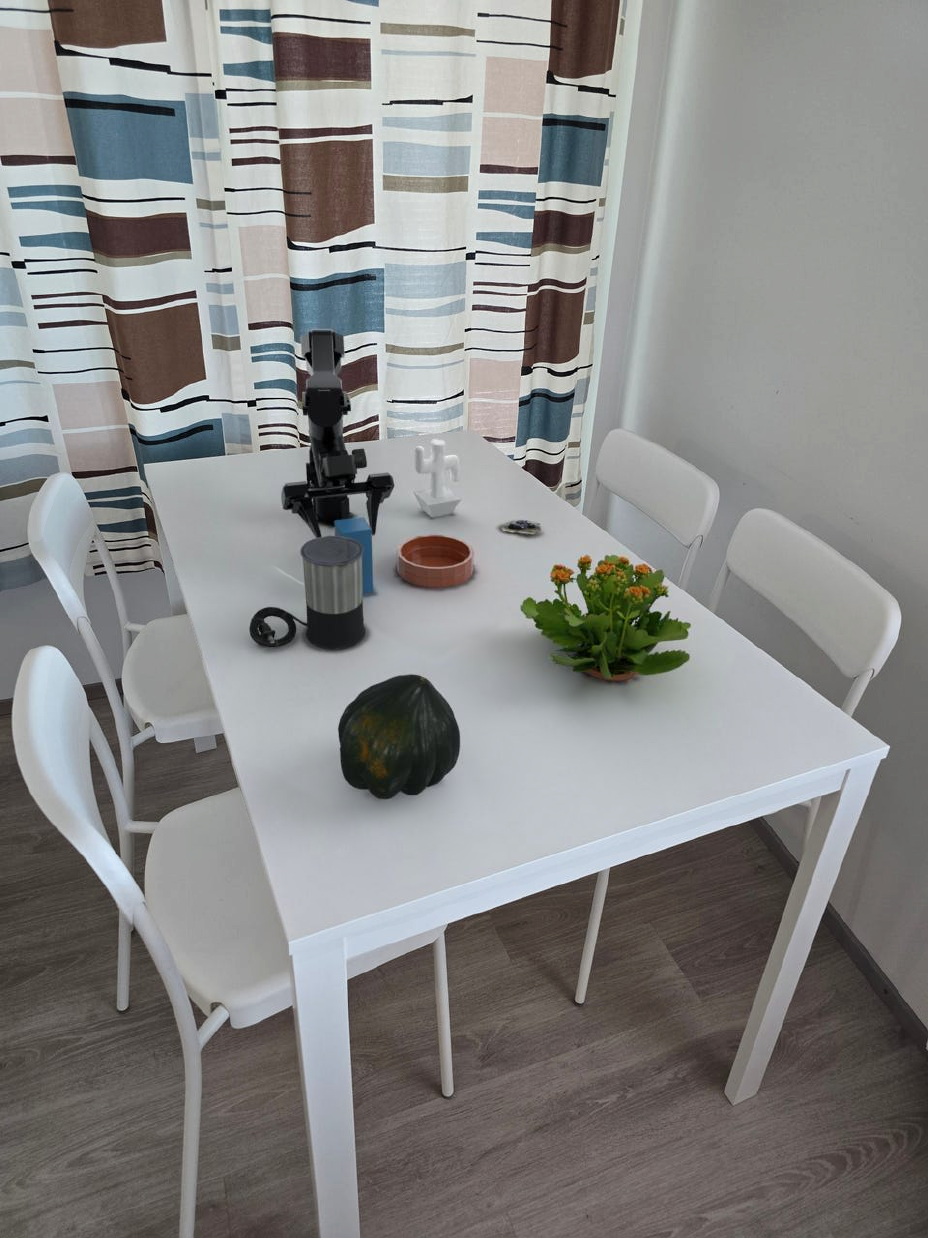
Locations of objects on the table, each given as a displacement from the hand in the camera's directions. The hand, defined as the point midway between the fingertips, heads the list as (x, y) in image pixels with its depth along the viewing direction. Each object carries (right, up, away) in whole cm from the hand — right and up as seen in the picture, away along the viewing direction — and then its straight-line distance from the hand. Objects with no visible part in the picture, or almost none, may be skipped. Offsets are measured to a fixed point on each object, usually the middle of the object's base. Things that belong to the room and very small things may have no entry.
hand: (347, 537), depth 145 cm
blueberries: (+31, +4, +23) cm, 39 cm away
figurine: (+14, +8, +29) cm, 33 cm away
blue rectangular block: (+1, -9, 0) cm, 9 cm away
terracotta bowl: (+15, -5, +7) cm, 17 cm away
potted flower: (+42, -21, -17) cm, 50 cm away
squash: (+12, -33, -39) cm, 52 cm away
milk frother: (-4, -17, -13) cm, 21 cm away
